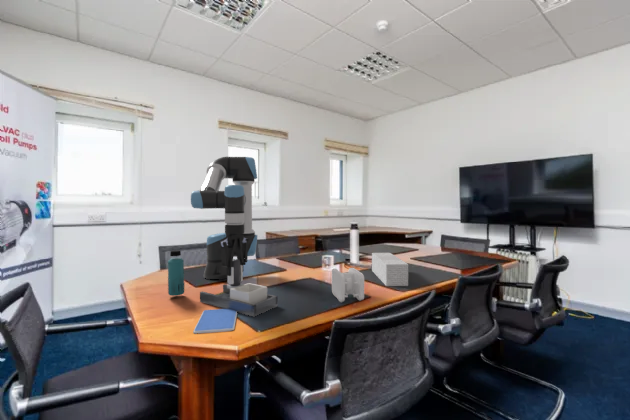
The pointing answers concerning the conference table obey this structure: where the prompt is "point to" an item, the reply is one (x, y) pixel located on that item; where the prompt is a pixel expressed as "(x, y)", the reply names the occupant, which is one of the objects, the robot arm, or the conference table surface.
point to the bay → (238, 302)
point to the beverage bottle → (175, 274)
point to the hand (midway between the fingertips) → (235, 282)
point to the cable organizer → (347, 284)
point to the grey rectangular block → (390, 269)
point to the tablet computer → (216, 321)
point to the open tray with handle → (245, 288)
